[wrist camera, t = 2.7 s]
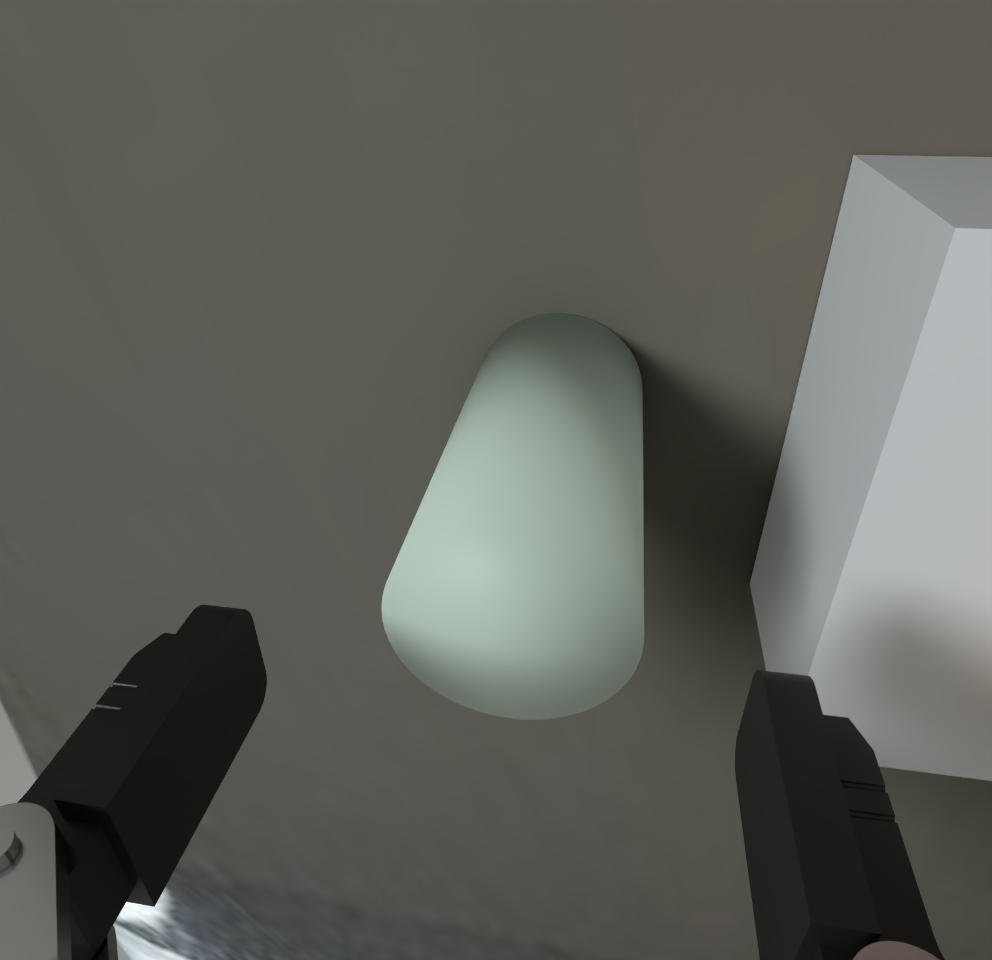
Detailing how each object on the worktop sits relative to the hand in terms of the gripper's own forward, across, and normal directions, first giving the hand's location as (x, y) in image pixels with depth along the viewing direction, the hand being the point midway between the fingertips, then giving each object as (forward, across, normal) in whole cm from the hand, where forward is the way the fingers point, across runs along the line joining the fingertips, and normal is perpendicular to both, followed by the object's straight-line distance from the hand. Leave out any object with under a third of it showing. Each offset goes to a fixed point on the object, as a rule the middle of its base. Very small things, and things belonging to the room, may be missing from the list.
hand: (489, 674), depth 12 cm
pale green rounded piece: (+10, 0, 0) cm, 10 cm away
